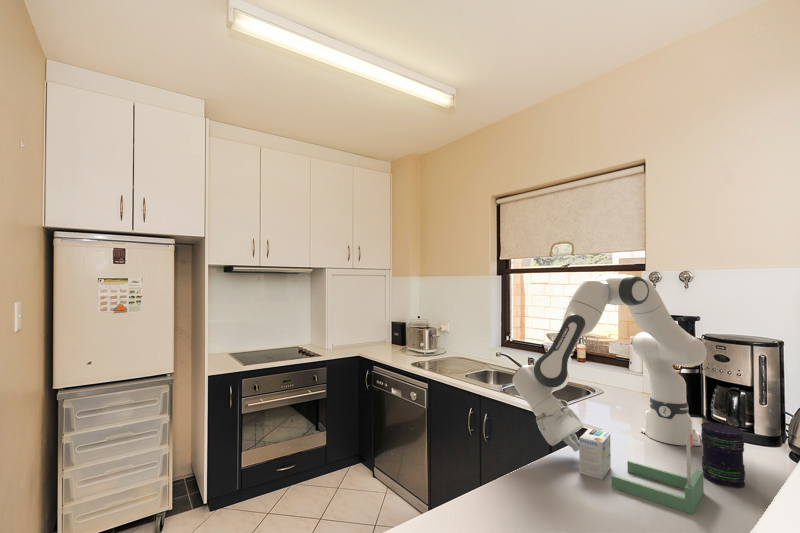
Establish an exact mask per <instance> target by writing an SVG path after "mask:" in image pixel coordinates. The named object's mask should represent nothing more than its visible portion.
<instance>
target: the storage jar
mask: <svg viewBox="0 0 800 533" xmlns="http://www.w3.org/2000/svg"><path fill="white" fill-rule="evenodd" d="M700 427H701V433H700V434H701V436H700V437H701V439H700V442H701V444H702V458H701V459H702V460H701V467H702V471H703V479H704V480H707V481H708V482H710V483H712V484H715V485H718V486H721V487H725V488H730V489H742V488H745V487H746V483H745V480H746V471H745V464H744V452H745V448H744V445H745V440H744V430H742V429H741V428H739V427H736V426H734V425H729V424H725V423H718V422H710V421H709V422H702V423H701V425H700Z"/></svg>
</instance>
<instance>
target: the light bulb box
mask: <svg viewBox="0 0 800 533" xmlns="http://www.w3.org/2000/svg"><path fill="white" fill-rule="evenodd" d="M578 441H579V450H578V452H579V454H578V455H579V457H578V458H579V461H578V462H579V474H581V475H584V476H589V477H592V478H595V479H598V480H603V479H604V478H605V476H606V475H607V474H608V472H609V471H610V469H611V468H612V467H611V466H612V465H611V463H612V460H611V458H612V457H611V456H612V453H611V450H612V449H611V432H607V431H603V430H598V429H593V428H589V427H588V428H587V429H586V430H585V431H584V433H583V434H582V435H581V436H580V437H579V438H578Z"/></svg>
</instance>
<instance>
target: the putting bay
mask: <svg viewBox="0 0 800 533" xmlns="http://www.w3.org/2000/svg"><path fill="white" fill-rule="evenodd" d="M685 446H686V473H687V474H686V476H684V475H680V474H677V473H674V472H669V471H668V470H667V471H666V470H663V469H659V468H656V467H652V466H649V465H645V464H641V463H638V462H635V461H632V460H627V472H628V473H632V474H634V475H637V476H640V477H644V478H647V479H651V480H654V481H658V482H660V483H664V484H666V485H667V484H668V485H670V486H674V487H677V488H680V489H683V490H684V497H683V496H681V495H676V494H675V493H671V492H667V491H665V490H661V489H658V488H656V487H655V488H654V487H652V486H649V485H646V484H642V483H639V482H635V481H633V480H629V479H626V478H623V477H620V476H617V475H615V474H612V475H611V488H614V489H616V490H619V491H623V492H626V493H628V494H632V495H633V496H637V497H640V498H642V499H644V500H645V499H646V500H648V501H652V502H655V503H657V504H660V505H663V506H667V507H669V508H672V509H675V510H678V511H681V512H684V513H686V514H690V515H693V514H694V513H695V511H696V509H697V506H698V505H699V503H700V501H701V500H702V497H703V496H704V493H705V490H704V484H705V483H704V477H703V469H698V468H696V469H695V471H693V473H692V461H691V460H692V455H691V453H692V452H691V450H692V449H691V448H692V447H693V446H694V445H693V438H692V433H691V434H690V435H689V436H688V437H686V445H685Z"/></svg>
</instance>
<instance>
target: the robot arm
mask: <svg viewBox="0 0 800 533" xmlns="http://www.w3.org/2000/svg"><path fill="white" fill-rule="evenodd" d="M607 305H613V306H627V307H628V310H629V312H630V313H631V315H632V317H633V320H635V323H636V325H637V327H638V329H640V330H641V331H642V332H639V333H637V334H636V335H635V336H634V338H633V340H632V348H633V351H634V352H635V355H637V356H638V357H639V358H640V359H641V360H642V362H643V363H644V366H645V368H646V369H647V372H648V375H649V379H650V380H649V381H650V398H649V407H650V408H649V409H647V410H646V411H645V423H644V427H643V428H640V433H642V432H643V433H642V434H644V433H645V434H644V435H646V436H647V437H649V438H650V439H652V440H654V441H658V442H661V443H664V444H668V445H669V444H670V445H675V446H687V445H686V437H688V436H689V435H690V434H691V433H692V438H693V446H695V447H697V446H700V447H701V444H702V443H701V439H700V433H699V431H697V430H696V429H694V428H693V420H692V417H691V415H690V414H689V413H690V412H689V403H688V401H687V382H686V381H685V379H684V377H683V376H681V374H679V373H678V372H677V371H676V369H675V368H674V366H673V365H679V366H682V367H684V366H685V367H688V366H689V367H690V366H692V367H693V366H694V367H695V366H700V365H701V364H703V363H704V361H705V360H706V358H707V354H708V353H707V352H708V351H707V347H706V345H705V344H704V342H703V341H702V340H701V339H699V338H697V337H695V336H693V335H692V334H690V333H689V332H687V331H686V330H685V329H684V328H682V326H680V325H679V323H677V322H676V321H675V320H674V319H673V317H672V316H671V314H670V312H669V311H668V309H667V307H666V305H665V303H664V302H663V299H662V298H661V295H660V294H659V291H657V289H656V288H655V286H654V285H653V284H652V283H651V282H650V280H648V278H644V277H640V276H638V275H634V274H629V275H628V274H622V273H621V274H618V273H614V274H606V275H605V274H600V275H595V276H594V277H592V278H588V279H585V280H584V281H583V282H582V283H581V284H580V285H579V286H578V288H577V289H576V291H575V292H574V293H573V295H572V297H571V299H570V301H569V303H568V305H567V308H566V310H565V313H564V317H563V321H562V324H561V327H560V329H559V331H558V332H557V335H556V337H555V338H554V340H553V342H552V344H551V346H550V348H549V349H548V350H547V351H546V352H545V353H544V354H542V355H541V356H540V357H539V358H538V359H537V360H536V361H535V363H534V364H529V365H526V364H524V365H522V366H520V367H519V368H517V369H516V371H515V373H513V376H512V383H513V386H514V388H515V390H516V391H517V392H518V394H519V395H520V397H521V398H522V400H523V401H525V403H527V404H528V405H529V407H530V409H531V411H532V412H533V414H534V415H535V416H536V417H535V420H536V421H535V422H536V424H537V428H538V430H539V431H540V433H541V435H542V436H543V438H544V440H545V441H546V442H547V444H548V445H550V446H551V447H553V446H555V445H557V444H559V443H560V442H562V441H563V443H564V444H566V445H567V446H569V447H570V448H571V449H572V450H573V452H579V438H578V436H577V434H576V433H577V432H578V431H580V430H581V429H582V428H584V424H583V422H582V421H581V419H580V417H578V415H577V414H576V413H575V412H574V410H573V409H572V408H571V407H569V406H570V405H569V403H568V402H567V401H566V400H564V399H559V398H556V397H555V396H554V394H553V393H554V392H556V391H559V390H561V389H564V388H565V387H566V386H567V384H568V383H569V379H570V378H569V376H570V375H569V372H568V362H569V360H570V357H571V355H572V353H573V351H574V349H575V347H576V346H577V343H578V341H580V339H581V337H583V336H584V335H586V334H590V333H591V332H592V331H593V330H594V329H595V328H596V326H597V325H598V323H599V322H600V320H601V318H602V316H603V313H604V311H605V308H606V306H607Z"/></svg>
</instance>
